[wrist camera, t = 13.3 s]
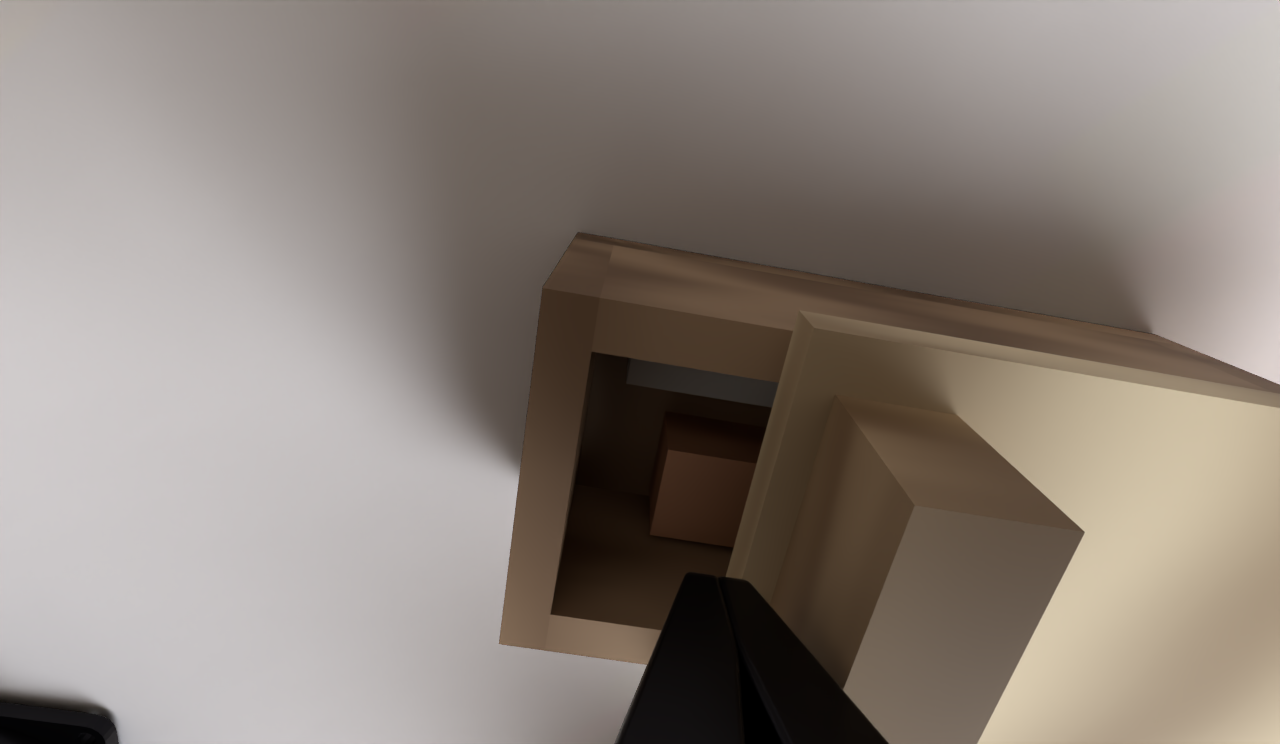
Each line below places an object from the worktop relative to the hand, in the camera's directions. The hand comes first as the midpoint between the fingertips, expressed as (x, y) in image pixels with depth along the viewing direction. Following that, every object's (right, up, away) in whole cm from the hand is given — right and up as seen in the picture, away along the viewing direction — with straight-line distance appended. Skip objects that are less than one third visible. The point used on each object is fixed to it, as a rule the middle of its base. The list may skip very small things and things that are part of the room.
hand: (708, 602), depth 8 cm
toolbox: (+4, +2, +7) cm, 8 cm away
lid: (+7, -1, +2) cm, 8 cm away
